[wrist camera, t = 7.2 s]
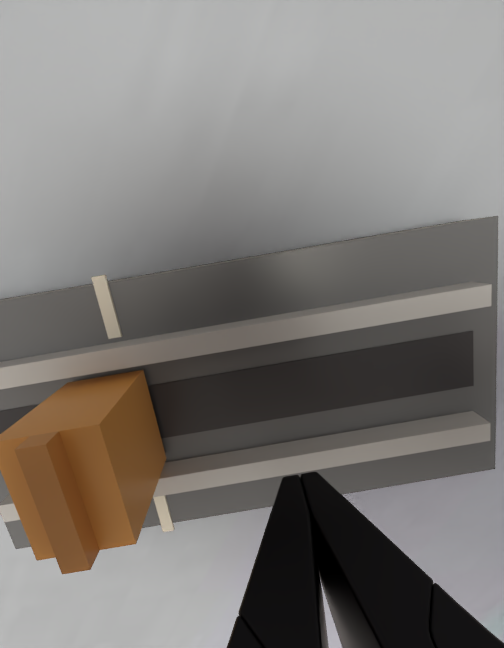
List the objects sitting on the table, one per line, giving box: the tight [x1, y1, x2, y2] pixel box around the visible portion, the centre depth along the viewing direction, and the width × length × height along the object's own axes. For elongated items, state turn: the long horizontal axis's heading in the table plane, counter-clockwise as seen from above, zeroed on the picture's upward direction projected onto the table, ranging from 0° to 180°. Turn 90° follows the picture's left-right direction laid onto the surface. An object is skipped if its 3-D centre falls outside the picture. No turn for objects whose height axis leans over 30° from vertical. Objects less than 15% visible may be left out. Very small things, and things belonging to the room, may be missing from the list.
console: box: [0, 216, 498, 549], centre depth 14 cm, size 12×22×3 cm, turn 99°
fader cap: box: [0, 370, 166, 574], centre depth 11 cm, size 4×3×5 cm
